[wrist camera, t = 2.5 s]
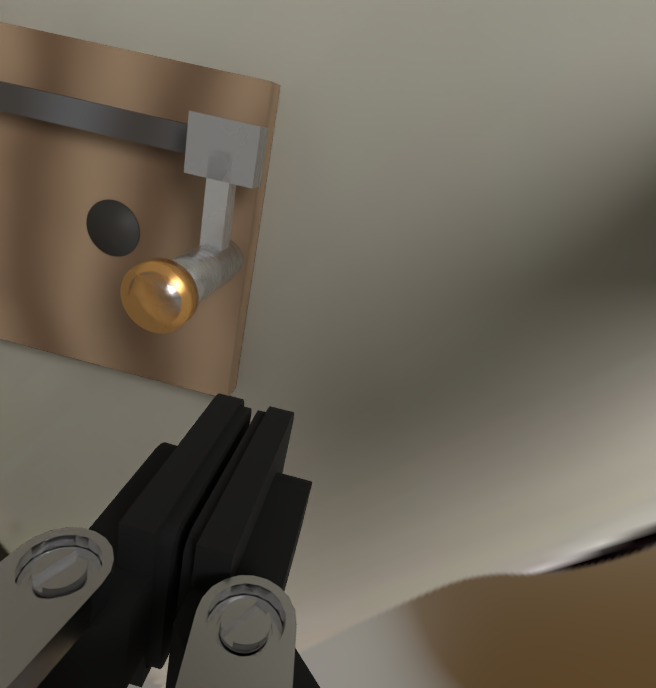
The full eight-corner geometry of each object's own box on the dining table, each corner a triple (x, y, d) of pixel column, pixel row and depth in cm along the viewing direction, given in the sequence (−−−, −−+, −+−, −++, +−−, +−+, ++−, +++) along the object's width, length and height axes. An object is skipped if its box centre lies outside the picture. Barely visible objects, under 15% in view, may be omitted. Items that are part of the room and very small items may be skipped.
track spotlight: (273, 128, 21) (214, 120, 15) (249, 290, 24) (191, 342, 18) (207, 113, 21) (121, 98, 15) (192, 276, 24) (114, 322, 18)
